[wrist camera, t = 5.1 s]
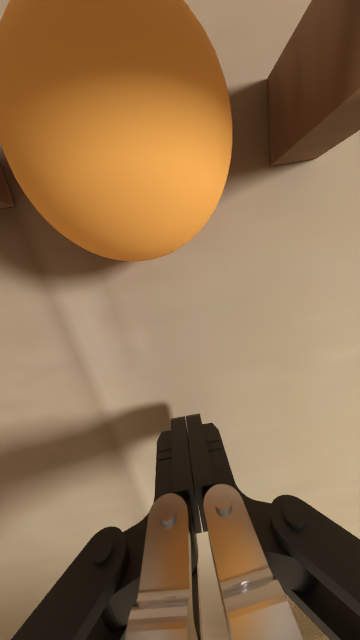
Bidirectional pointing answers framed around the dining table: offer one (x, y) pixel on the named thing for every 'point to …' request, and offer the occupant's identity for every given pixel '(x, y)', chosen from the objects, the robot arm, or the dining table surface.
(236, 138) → the dining table surface
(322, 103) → the bridge
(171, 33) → the ball
